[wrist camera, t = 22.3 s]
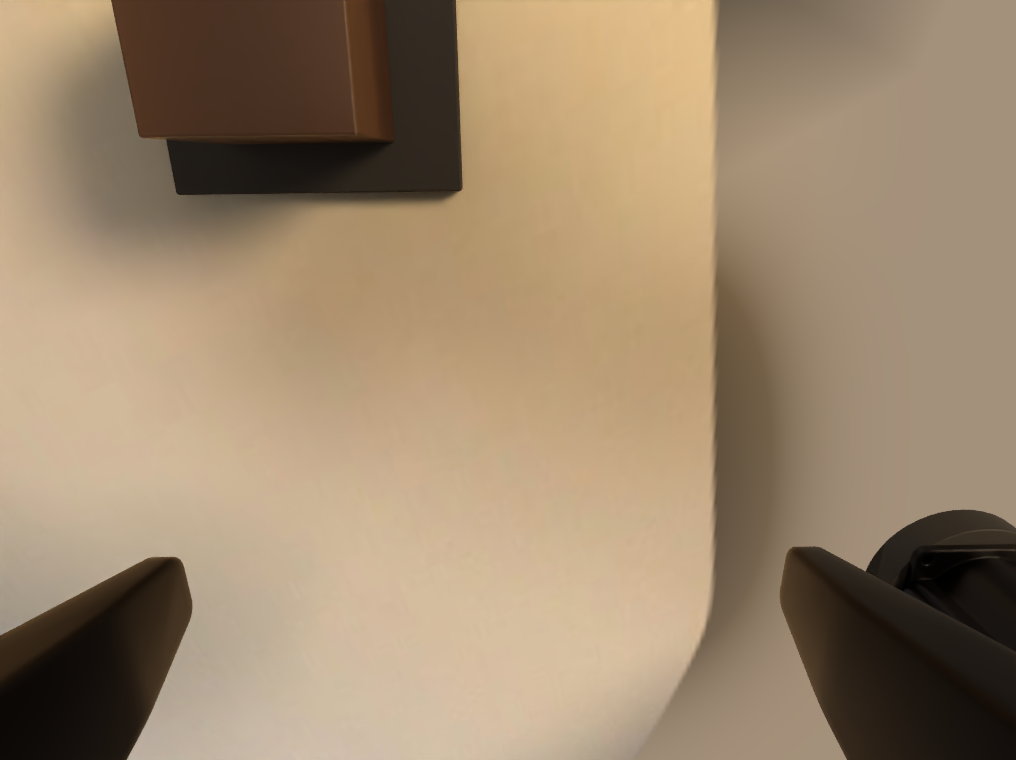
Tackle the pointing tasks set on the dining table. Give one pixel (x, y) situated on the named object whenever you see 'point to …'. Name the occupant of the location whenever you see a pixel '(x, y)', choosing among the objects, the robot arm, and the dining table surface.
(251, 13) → the walnut block
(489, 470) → the dining table surface
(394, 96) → the dark mat
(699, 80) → the dining table surface
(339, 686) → the dining table surface
